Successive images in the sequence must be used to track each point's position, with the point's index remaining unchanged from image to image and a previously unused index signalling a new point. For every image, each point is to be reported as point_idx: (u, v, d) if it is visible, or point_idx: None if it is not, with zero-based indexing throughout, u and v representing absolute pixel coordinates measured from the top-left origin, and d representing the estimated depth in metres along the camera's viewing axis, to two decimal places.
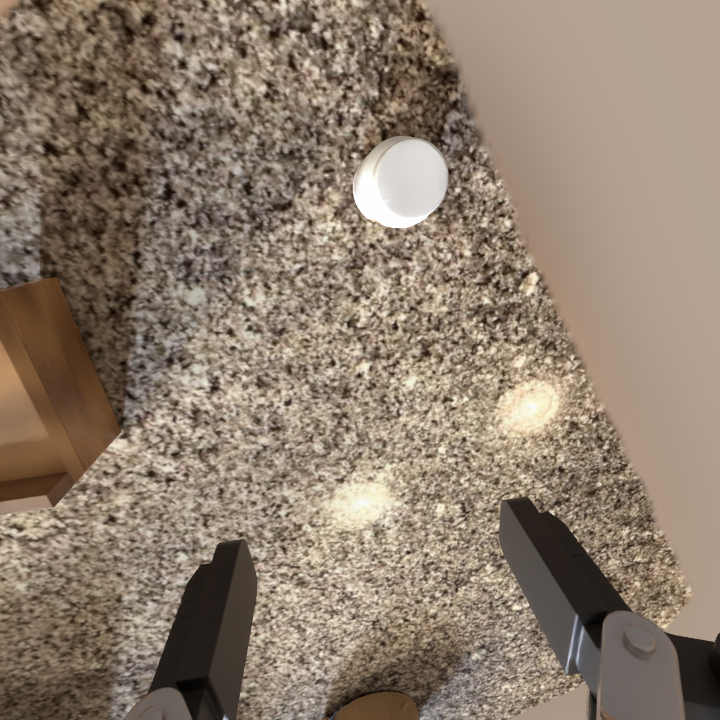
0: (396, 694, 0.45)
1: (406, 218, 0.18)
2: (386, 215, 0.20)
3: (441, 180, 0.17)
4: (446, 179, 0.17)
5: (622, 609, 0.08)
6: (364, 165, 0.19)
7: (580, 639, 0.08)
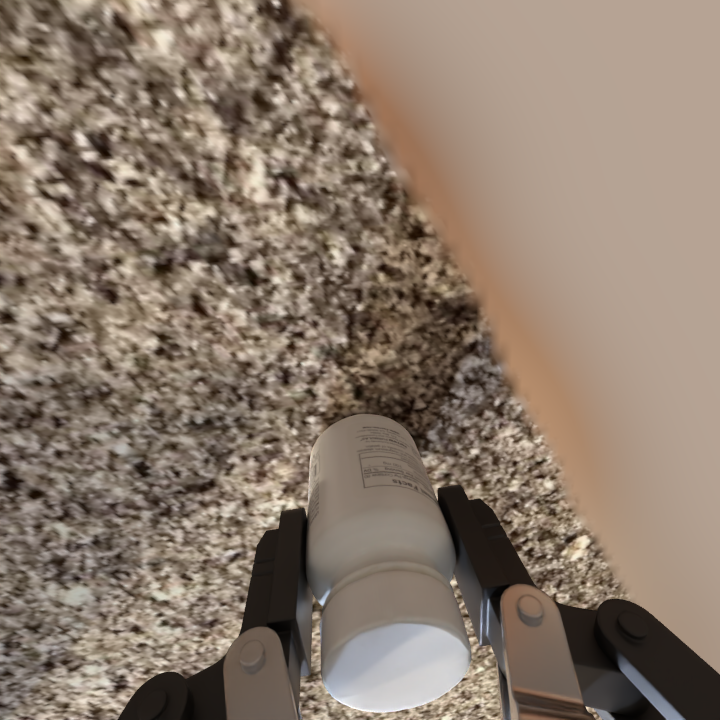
0: None
1: None
2: None
3: (457, 664, 0.08)
4: (467, 661, 0.08)
5: (527, 584, 0.09)
6: (311, 553, 0.10)
7: (488, 611, 0.09)
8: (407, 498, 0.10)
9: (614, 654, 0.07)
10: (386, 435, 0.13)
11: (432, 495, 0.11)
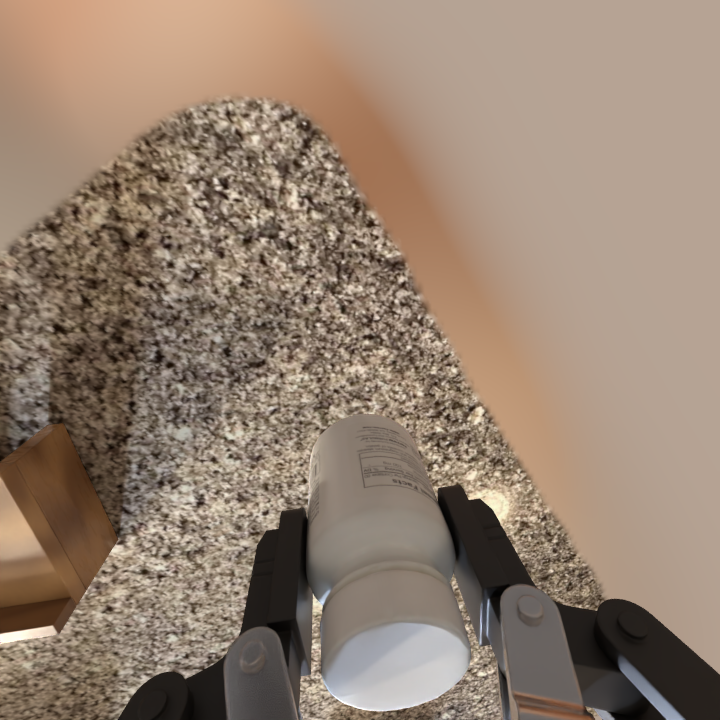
0: None
1: (387, 710, 0.09)
2: None
3: (456, 663, 0.08)
4: (467, 660, 0.09)
5: (527, 584, 0.09)
6: (311, 553, 0.10)
7: (488, 611, 0.09)
8: (407, 498, 0.10)
9: (614, 654, 0.07)
10: (387, 435, 0.13)
11: (431, 495, 0.12)
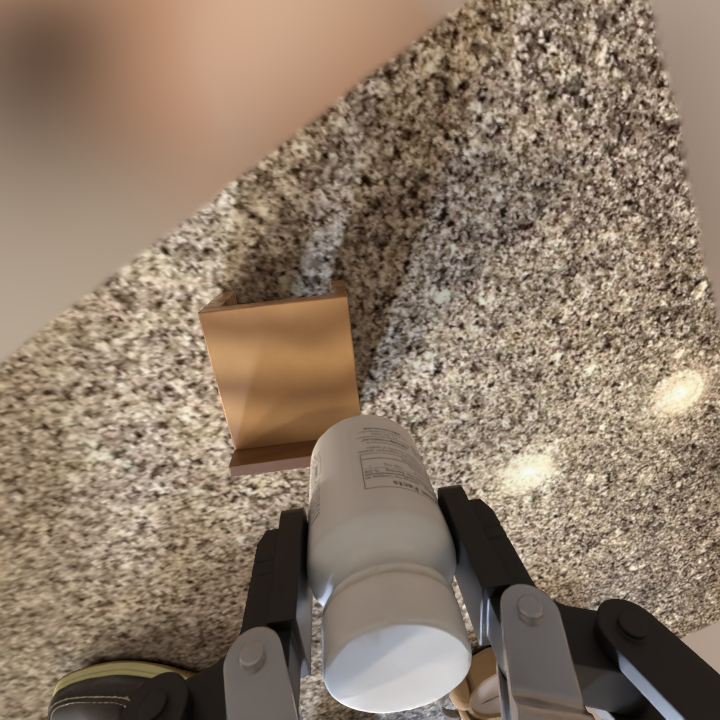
0: None
1: None
2: None
3: (458, 665, 0.08)
4: (468, 662, 0.08)
5: (527, 584, 0.09)
6: (312, 554, 0.10)
7: (488, 611, 0.09)
8: (408, 499, 0.10)
9: (614, 654, 0.07)
10: (387, 436, 0.13)
11: (432, 497, 0.12)
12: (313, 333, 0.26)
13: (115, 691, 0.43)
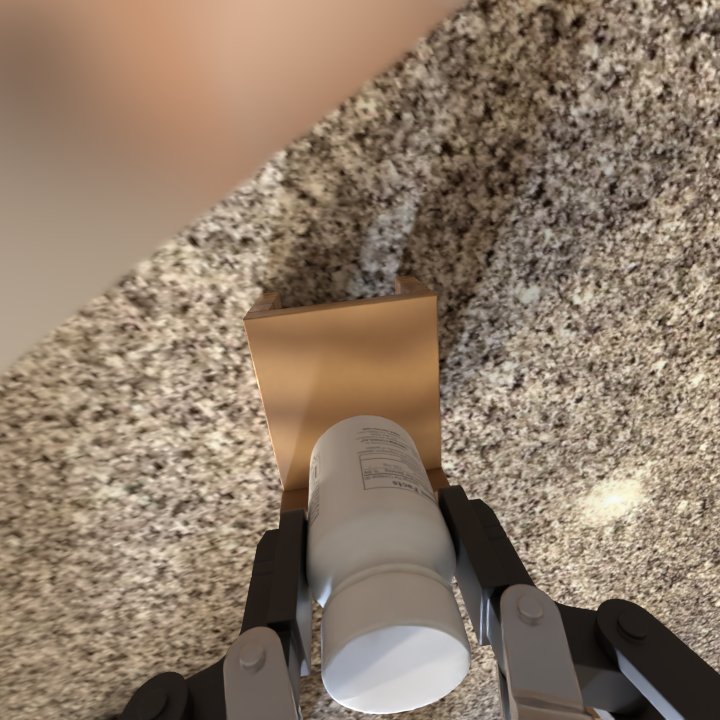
0: None
1: (387, 713, 0.09)
2: None
3: (457, 665, 0.08)
4: (467, 663, 0.08)
5: (527, 584, 0.09)
6: (312, 555, 0.10)
7: (488, 611, 0.09)
8: (407, 499, 0.10)
9: (614, 654, 0.07)
10: (387, 437, 0.13)
11: (432, 497, 0.12)
12: (389, 344, 0.20)
13: None
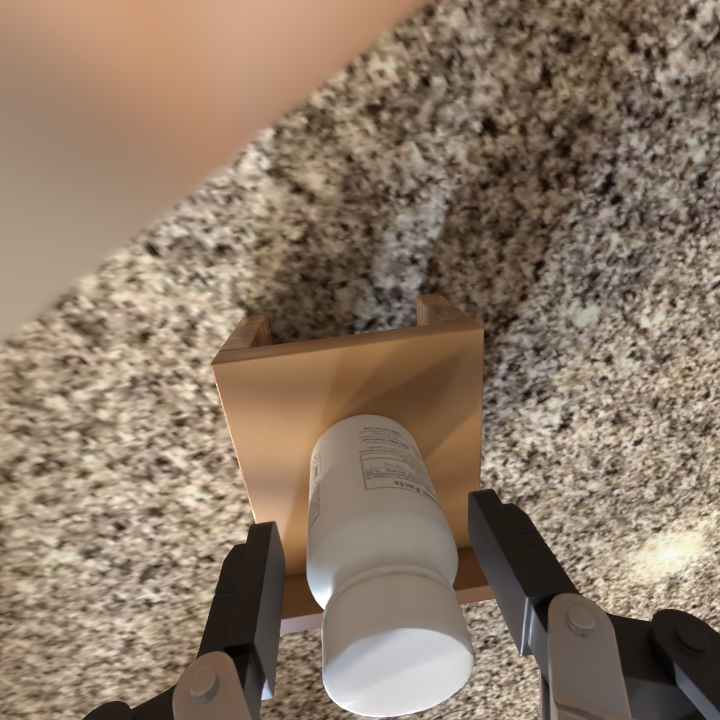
0: None
1: (389, 716, 0.09)
2: None
3: (460, 668, 0.08)
4: (470, 666, 0.08)
5: (571, 593, 0.09)
6: (312, 556, 0.10)
7: (532, 621, 0.09)
8: (409, 500, 0.10)
9: (667, 662, 0.07)
10: (388, 436, 0.13)
11: (434, 497, 0.11)
12: (416, 394, 0.14)
13: None
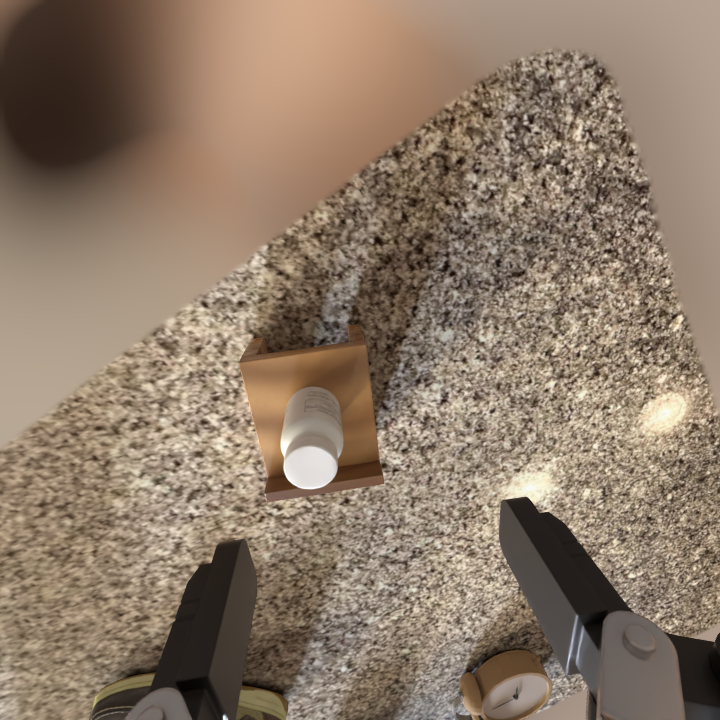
0: (526, 652, 0.55)
1: (309, 488, 0.24)
2: None
3: (332, 466, 0.24)
4: (336, 465, 0.24)
5: (622, 609, 0.08)
6: (282, 436, 0.26)
7: (580, 639, 0.08)
8: (321, 415, 0.26)
9: None
10: (320, 394, 0.29)
11: (335, 417, 0.27)
12: (336, 376, 0.30)
13: None
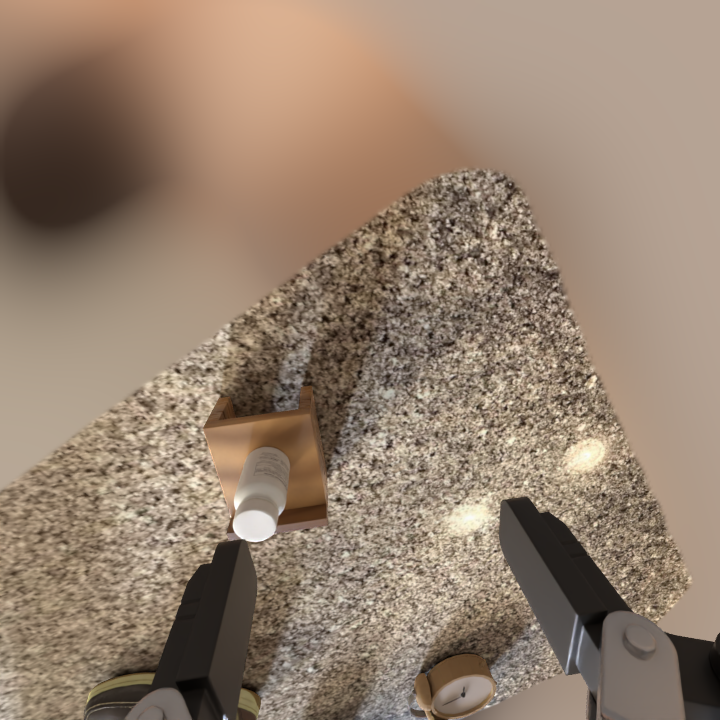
0: (474, 655, 0.62)
1: (254, 541, 0.30)
2: None
3: (272, 525, 0.30)
4: (275, 524, 0.30)
5: (622, 609, 0.08)
6: (235, 496, 0.31)
7: (580, 638, 0.08)
8: (267, 478, 0.32)
9: None
10: (270, 456, 0.34)
11: (280, 478, 0.33)
12: (286, 438, 0.36)
13: (137, 698, 0.53)
